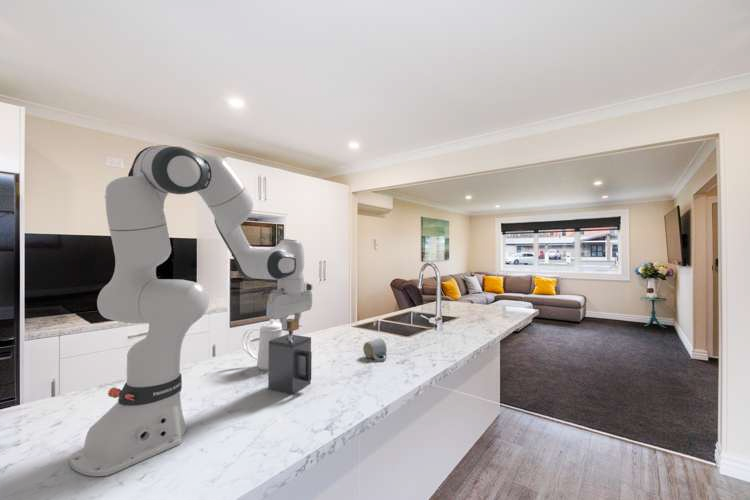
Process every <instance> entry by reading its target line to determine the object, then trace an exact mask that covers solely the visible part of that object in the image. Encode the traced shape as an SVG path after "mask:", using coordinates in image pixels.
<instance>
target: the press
mask: <svg viewBox="0 0 750 500" xmlns="http://www.w3.org/2000/svg"><path fill="white" fill-rule="evenodd" d="M267 371H268V374H267V375H268V377H267V379H268V381H267V383H268V387H267V389H268V390H270V391H273V392H274V391H275V392H278V393H283V394H287V395H290V396H291V395H294V394H296V393H298V392H299V391H301V390H303V389H305V388H306V387H308V386H309V385H311V383H312V382H311V381H312V336H311V337H310V336H303V335H298V334H297V335H296V334H293V335H292V340H289V333H287V334H284V336H281V337H278V338H276V339H273V340H270V341H269V364H268V370H267Z"/></svg>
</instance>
